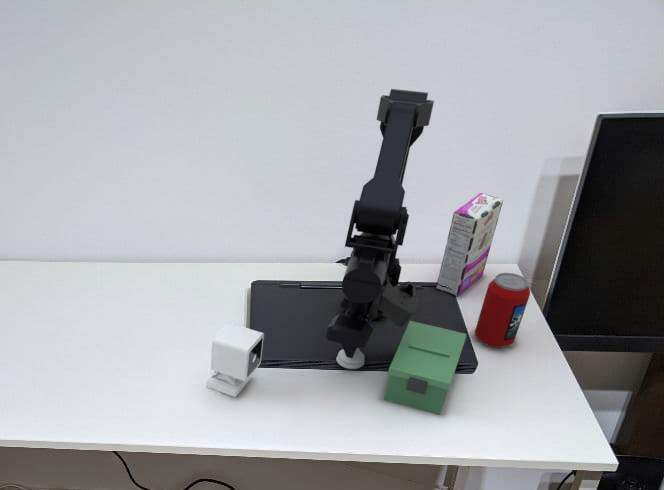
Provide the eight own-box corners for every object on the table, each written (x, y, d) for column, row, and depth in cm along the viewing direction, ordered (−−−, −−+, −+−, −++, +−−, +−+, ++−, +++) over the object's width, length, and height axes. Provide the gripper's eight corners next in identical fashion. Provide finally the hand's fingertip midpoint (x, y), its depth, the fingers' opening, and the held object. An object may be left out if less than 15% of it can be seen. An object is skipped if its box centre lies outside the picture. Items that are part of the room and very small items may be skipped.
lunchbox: (381, 401, 138) (388, 367, 133) (403, 349, 149) (410, 317, 145) (440, 417, 134) (450, 383, 130) (458, 363, 146) (468, 330, 141)
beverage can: (516, 352, 148) (536, 292, 141) (475, 348, 149) (493, 288, 142) (510, 331, 153) (529, 272, 146) (471, 327, 154) (488, 269, 147)
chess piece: (340, 370, 144) (347, 331, 139) (332, 354, 147) (339, 315, 142) (367, 369, 144) (376, 329, 139) (359, 353, 148) (367, 314, 143)
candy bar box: (459, 267, 172) (480, 191, 161) (483, 276, 169) (505, 199, 159) (433, 288, 165) (453, 210, 155) (457, 297, 163) (479, 218, 152)
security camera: (242, 401, 138) (247, 350, 132) (204, 388, 141) (207, 337, 135) (259, 381, 142) (265, 331, 136) (221, 368, 145) (225, 319, 139)
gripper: (406, 311, 125) (386, 395, 135) (431, 256, 138) (411, 336, 148) (332, 294, 129) (318, 376, 139) (363, 242, 142) (348, 321, 152)
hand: (352, 352), depth 144 cm, fingers closed on chess piece, 3 cm apart
